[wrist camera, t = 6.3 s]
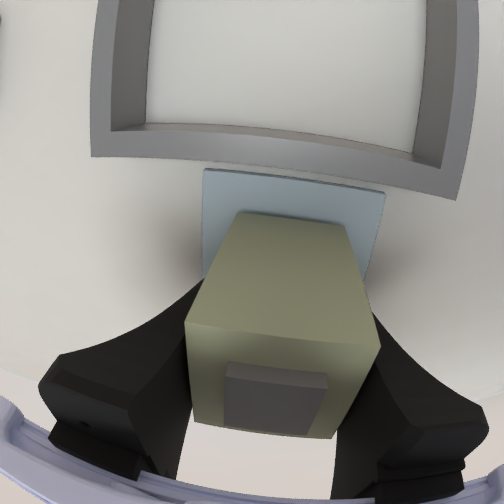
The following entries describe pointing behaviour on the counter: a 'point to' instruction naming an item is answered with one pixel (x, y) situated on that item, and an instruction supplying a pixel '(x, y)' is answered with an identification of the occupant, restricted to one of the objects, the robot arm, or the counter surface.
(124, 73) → the case
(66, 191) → the counter surface
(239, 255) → the block
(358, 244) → the mat
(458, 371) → the counter surface
